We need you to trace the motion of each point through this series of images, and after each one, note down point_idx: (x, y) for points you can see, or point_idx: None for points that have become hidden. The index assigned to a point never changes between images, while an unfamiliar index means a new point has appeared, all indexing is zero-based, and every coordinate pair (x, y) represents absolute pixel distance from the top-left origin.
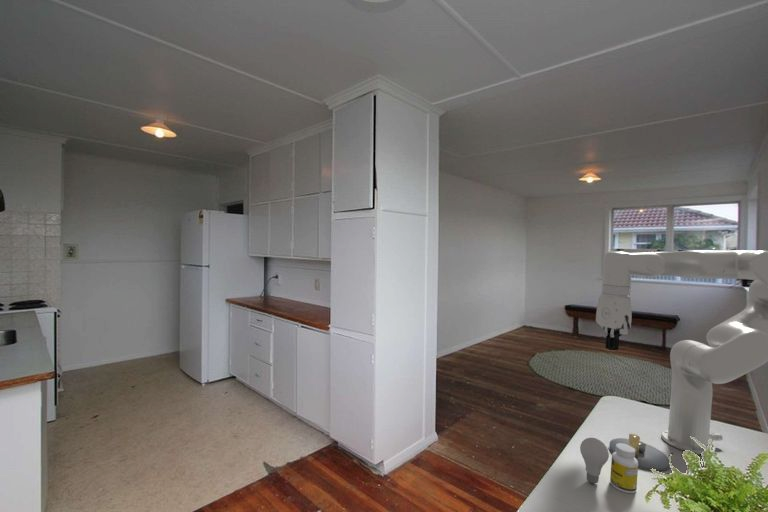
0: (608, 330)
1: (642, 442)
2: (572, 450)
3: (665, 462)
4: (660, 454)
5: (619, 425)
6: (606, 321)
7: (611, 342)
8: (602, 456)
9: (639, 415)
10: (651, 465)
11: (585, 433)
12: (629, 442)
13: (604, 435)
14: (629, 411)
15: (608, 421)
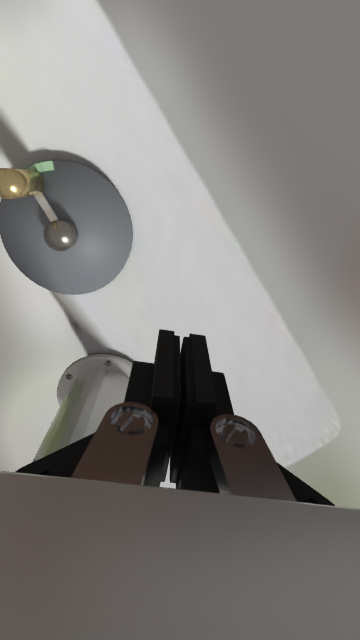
0: (219, 486)
1: (61, 249)
2: (107, 33)
3: (16, 255)
4: (51, 278)
5: (207, 318)
6: (167, 626)
7: (152, 381)
8: None
9: (238, 411)
10: (3, 204)
11: (189, 176)
12: (17, 169)
13: (170, 228)
14: (262, 407)
15: (232, 308)
